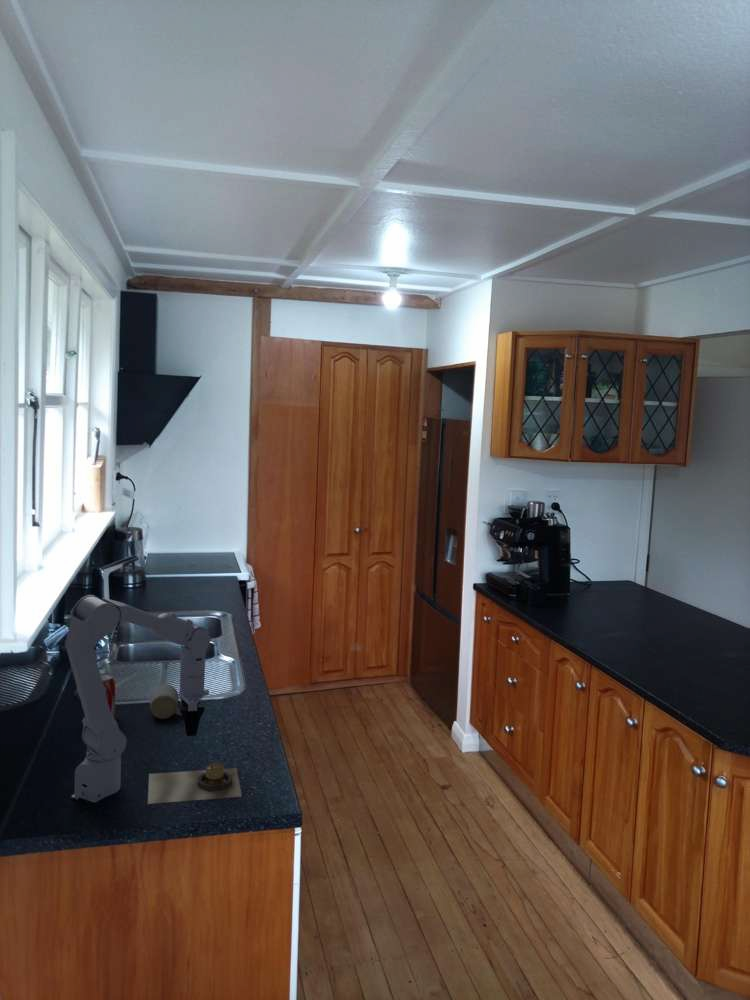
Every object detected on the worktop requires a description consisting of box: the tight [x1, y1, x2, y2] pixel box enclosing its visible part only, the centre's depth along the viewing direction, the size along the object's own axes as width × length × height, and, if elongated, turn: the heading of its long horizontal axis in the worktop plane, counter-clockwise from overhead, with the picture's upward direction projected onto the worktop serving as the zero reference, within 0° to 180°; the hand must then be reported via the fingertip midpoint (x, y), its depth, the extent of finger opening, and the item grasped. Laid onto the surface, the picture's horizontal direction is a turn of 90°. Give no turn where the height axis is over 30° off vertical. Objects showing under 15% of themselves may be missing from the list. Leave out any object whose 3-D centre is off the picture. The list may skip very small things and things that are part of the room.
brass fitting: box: [205, 762, 225, 785], centre depth 176 cm, size 4×4×4 cm
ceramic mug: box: [149, 683, 183, 720], centre depth 216 cm, size 11×8×8 cm
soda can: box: [100, 672, 116, 717], centre depth 210 cm, size 7×7×12 cm
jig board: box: [147, 767, 243, 805], centre depth 175 cm, size 20×14×2 cm
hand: (190, 728), depth 185 cm, fingers open, 7 cm apart
